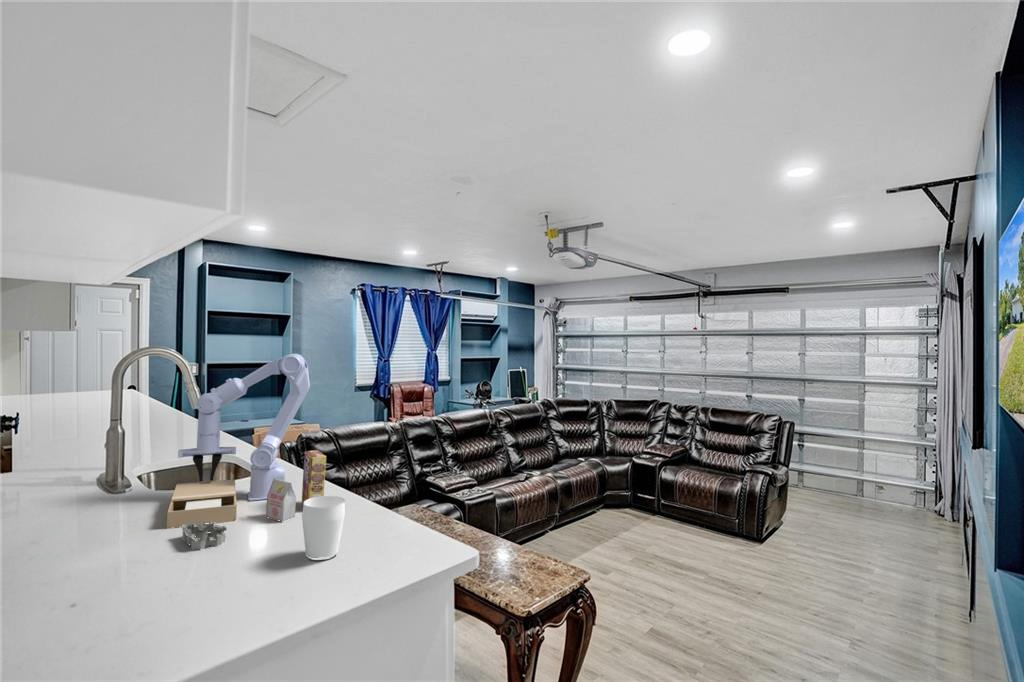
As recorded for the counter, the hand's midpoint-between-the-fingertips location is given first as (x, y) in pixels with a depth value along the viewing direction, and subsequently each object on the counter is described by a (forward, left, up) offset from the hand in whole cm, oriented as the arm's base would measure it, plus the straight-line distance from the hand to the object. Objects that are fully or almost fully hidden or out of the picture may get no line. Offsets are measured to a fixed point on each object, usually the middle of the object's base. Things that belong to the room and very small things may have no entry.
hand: (206, 480), depth 150 cm
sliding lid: (0, +7, -1) cm, 7 cm away
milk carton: (-18, +25, -6) cm, 32 cm away
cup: (-24, +54, -6) cm, 60 cm away
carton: (0, +15, -5) cm, 16 cm away
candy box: (-27, +18, -6) cm, 33 cm away
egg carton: (-1, +36, -6) cm, 36 cm away
